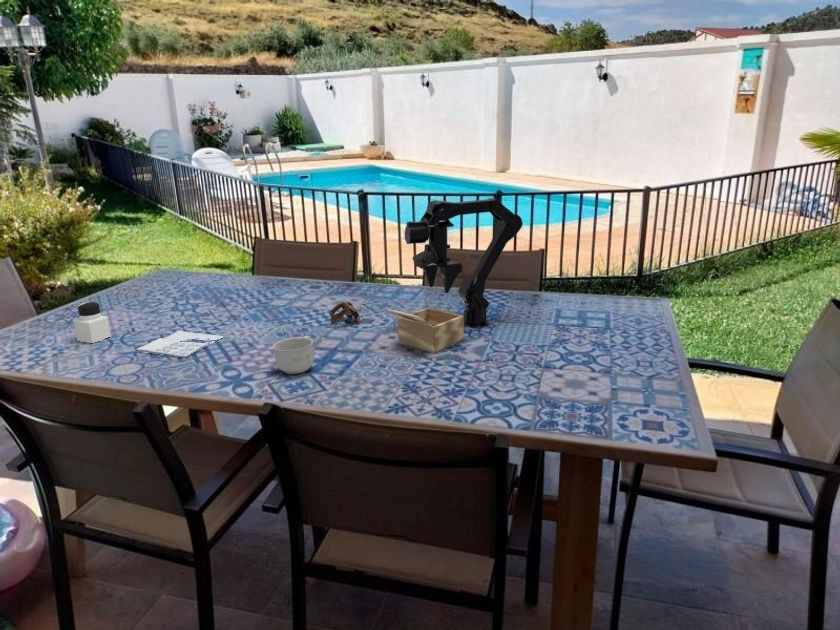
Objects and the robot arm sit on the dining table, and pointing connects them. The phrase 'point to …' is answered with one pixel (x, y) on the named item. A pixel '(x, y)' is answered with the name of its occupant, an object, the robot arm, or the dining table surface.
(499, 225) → the robot arm
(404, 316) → the flap
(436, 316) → the tan wooden open box
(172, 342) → the white open book
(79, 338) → the medicine bottle
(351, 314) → the brown wooden arch
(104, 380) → the dining table surface
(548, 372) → the dining table surface
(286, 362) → the teacup
